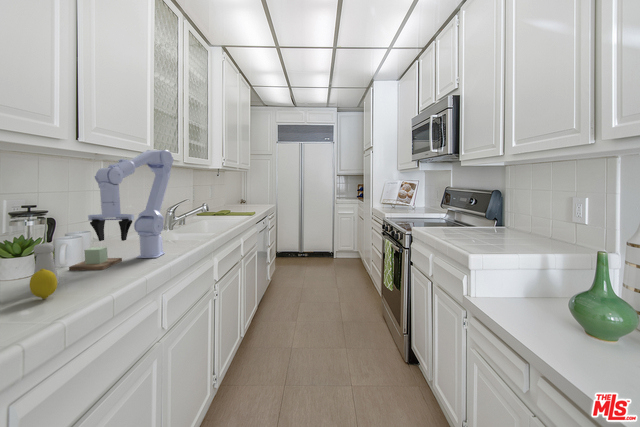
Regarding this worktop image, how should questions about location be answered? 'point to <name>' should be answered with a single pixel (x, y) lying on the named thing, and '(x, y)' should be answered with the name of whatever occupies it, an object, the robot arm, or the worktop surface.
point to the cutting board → (95, 265)
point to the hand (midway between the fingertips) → (112, 240)
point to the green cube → (96, 255)
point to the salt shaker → (45, 258)
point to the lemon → (43, 283)
